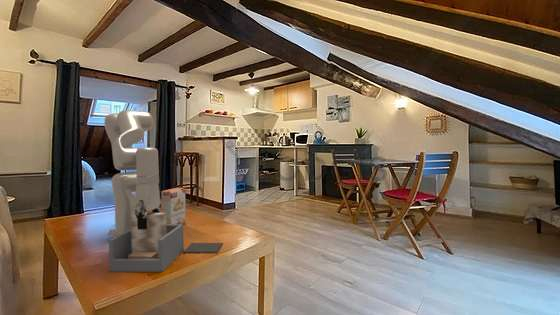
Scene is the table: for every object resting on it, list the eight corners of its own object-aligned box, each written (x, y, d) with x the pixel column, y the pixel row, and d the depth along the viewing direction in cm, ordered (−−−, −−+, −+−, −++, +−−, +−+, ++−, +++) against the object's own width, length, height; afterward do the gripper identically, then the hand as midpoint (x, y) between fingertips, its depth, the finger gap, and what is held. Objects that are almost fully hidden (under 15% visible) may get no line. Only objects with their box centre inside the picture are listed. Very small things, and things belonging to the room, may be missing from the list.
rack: (109, 271, 91) (109, 240, 91) (140, 250, 110) (139, 224, 109) (162, 271, 90) (161, 240, 90) (183, 250, 109) (183, 224, 109)
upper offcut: (128, 262, 94) (128, 255, 94) (135, 258, 97) (135, 251, 97) (151, 263, 92) (151, 256, 92) (157, 259, 96) (157, 252, 96)
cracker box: (171, 231, 136) (170, 191, 135) (161, 230, 137) (160, 191, 136) (186, 224, 149) (185, 187, 149) (177, 223, 150) (176, 187, 150)
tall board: (132, 262, 98) (130, 214, 98) (136, 258, 101) (135, 212, 101) (163, 262, 98) (162, 214, 98) (167, 258, 101) (166, 212, 101)
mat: (183, 253, 107) (183, 251, 107) (191, 244, 117) (191, 242, 117) (217, 253, 106) (217, 251, 106) (223, 244, 116) (223, 242, 116)
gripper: (150, 178, 108) (151, 220, 108) (124, 183, 90) (125, 232, 90) (168, 178, 107) (169, 219, 108) (145, 182, 90) (147, 232, 90)
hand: (149, 225), depth 99 cm, fingers open, 9 cm apart
